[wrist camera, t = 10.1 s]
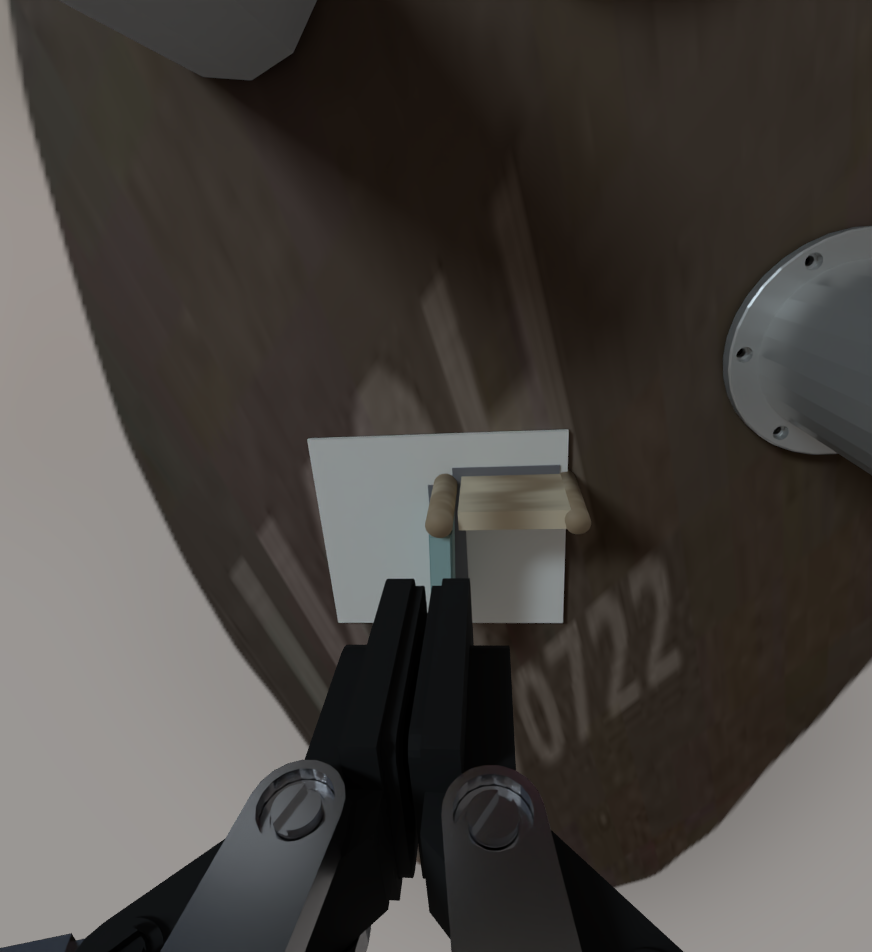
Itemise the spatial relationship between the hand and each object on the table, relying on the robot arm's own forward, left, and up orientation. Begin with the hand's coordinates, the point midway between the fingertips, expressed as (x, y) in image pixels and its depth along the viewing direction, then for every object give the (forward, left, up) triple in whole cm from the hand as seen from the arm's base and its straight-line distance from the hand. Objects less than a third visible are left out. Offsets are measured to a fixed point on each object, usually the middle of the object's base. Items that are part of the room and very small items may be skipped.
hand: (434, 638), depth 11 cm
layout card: (+2, +12, -25) cm, 28 cm away
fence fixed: (-2, +8, -25) cm, 26 cm away
